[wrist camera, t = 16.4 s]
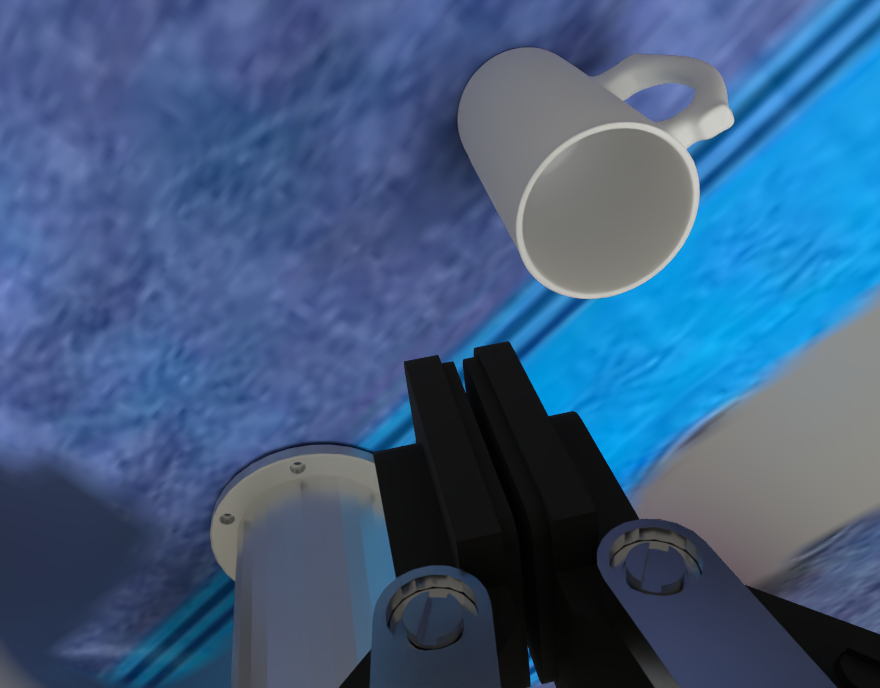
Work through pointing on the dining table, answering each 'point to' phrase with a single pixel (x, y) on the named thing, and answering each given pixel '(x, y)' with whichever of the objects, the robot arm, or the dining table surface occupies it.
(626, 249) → the mug
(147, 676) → the dining table surface
